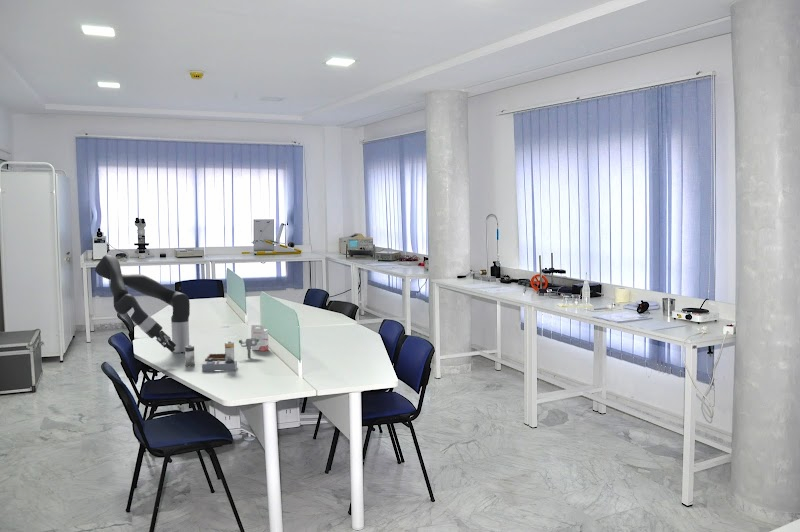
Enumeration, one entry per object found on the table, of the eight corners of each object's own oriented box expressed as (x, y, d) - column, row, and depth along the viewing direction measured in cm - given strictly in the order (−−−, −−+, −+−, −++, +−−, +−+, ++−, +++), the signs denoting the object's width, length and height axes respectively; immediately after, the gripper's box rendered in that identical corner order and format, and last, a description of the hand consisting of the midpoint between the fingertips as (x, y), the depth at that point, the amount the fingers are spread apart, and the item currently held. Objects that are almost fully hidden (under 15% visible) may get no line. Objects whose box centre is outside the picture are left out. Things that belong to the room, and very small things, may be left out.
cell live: (225, 361, 323) (225, 340, 322) (235, 361, 324) (234, 340, 323) (224, 363, 319) (224, 342, 318) (233, 363, 319) (233, 342, 318)
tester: (204, 368, 323) (204, 360, 323) (236, 367, 325) (236, 359, 325) (202, 371, 317) (202, 363, 317) (235, 370, 319) (235, 362, 319)
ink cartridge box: (268, 349, 365) (268, 324, 364) (265, 351, 360) (264, 325, 359) (255, 348, 367) (254, 323, 366) (251, 350, 362) (250, 325, 361)
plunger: (207, 368, 322) (207, 358, 322) (215, 368, 323) (214, 357, 322) (206, 370, 318) (205, 359, 318) (213, 370, 319) (213, 359, 318)
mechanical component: (239, 357, 346) (238, 339, 345) (258, 355, 350) (258, 337, 349) (239, 358, 343) (239, 340, 342) (259, 357, 347) (258, 339, 346)
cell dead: (186, 364, 331) (186, 344, 330) (195, 364, 331) (195, 344, 330) (184, 366, 326) (184, 346, 325) (193, 366, 327) (193, 346, 326)
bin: (209, 360, 339) (209, 354, 339) (231, 359, 340) (231, 353, 340) (205, 365, 328) (204, 359, 328) (227, 365, 329) (227, 358, 329)
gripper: (146, 329, 327) (169, 350, 332) (143, 335, 314) (167, 357, 318) (157, 318, 328) (180, 340, 333) (154, 324, 315) (179, 346, 319)
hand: (174, 348), depth 325 cm, fingers open, 8 cm apart
